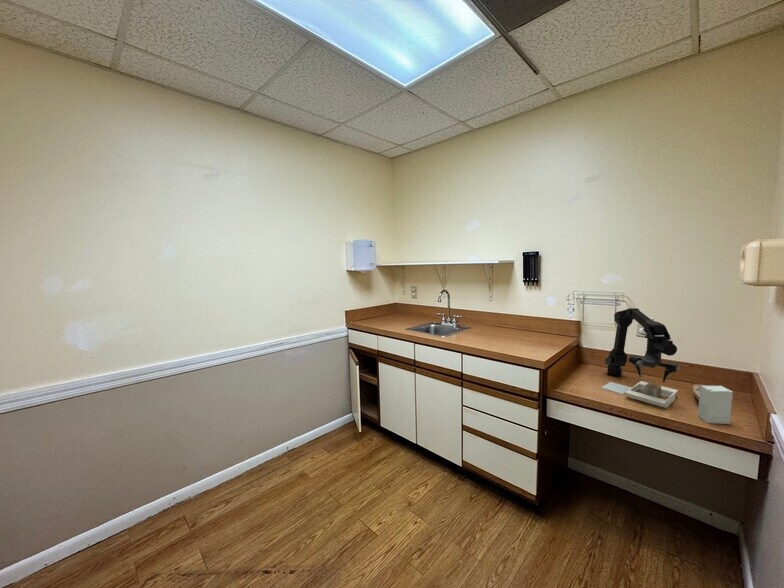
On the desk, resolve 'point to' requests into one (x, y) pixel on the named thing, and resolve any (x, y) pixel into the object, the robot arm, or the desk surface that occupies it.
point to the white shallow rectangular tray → (650, 399)
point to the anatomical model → (697, 390)
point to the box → (652, 390)
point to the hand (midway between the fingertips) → (651, 379)
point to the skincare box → (715, 404)
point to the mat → (616, 387)
